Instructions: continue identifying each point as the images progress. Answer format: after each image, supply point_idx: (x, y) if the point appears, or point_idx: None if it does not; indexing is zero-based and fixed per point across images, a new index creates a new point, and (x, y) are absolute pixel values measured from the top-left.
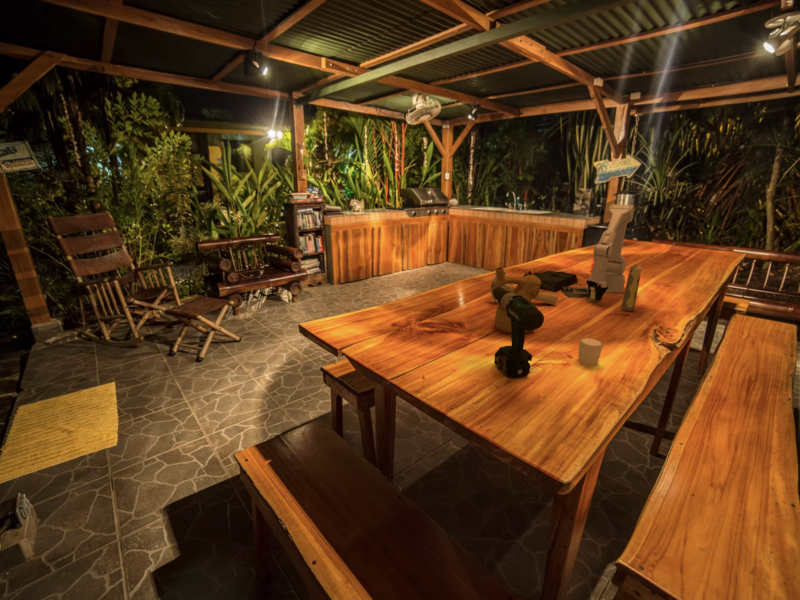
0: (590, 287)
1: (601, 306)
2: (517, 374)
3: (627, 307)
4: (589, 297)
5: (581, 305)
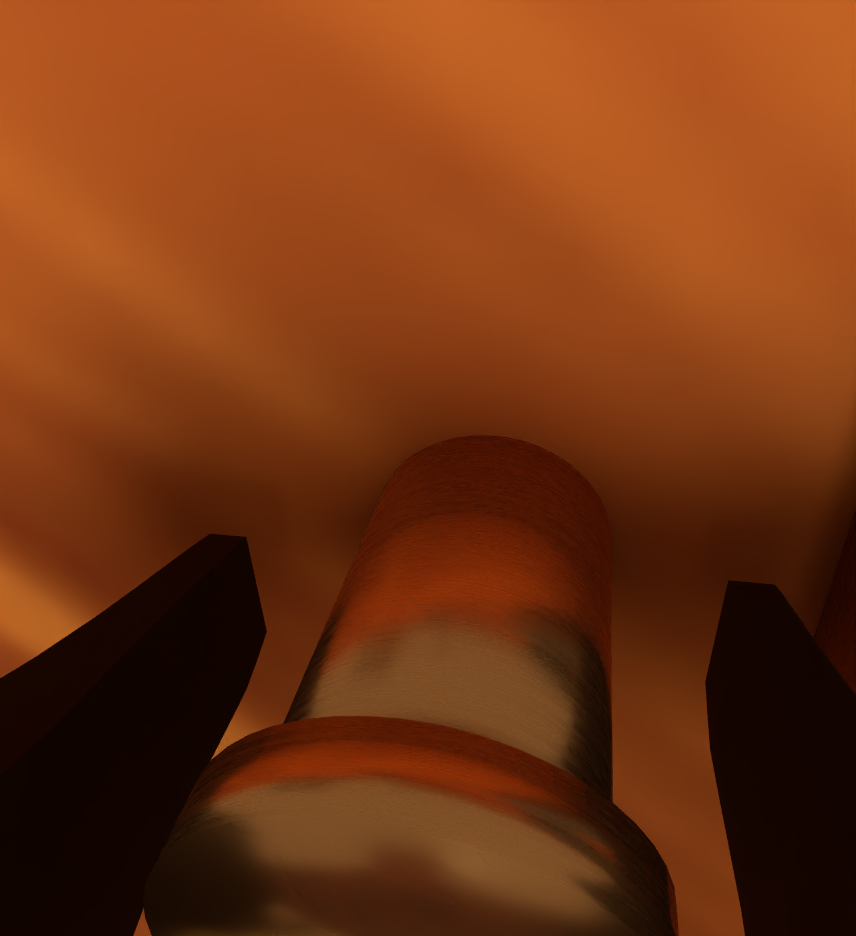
0: (396, 810)
1: (127, 529)
2: None
3: None
4: (839, 575)
5: (8, 9)
